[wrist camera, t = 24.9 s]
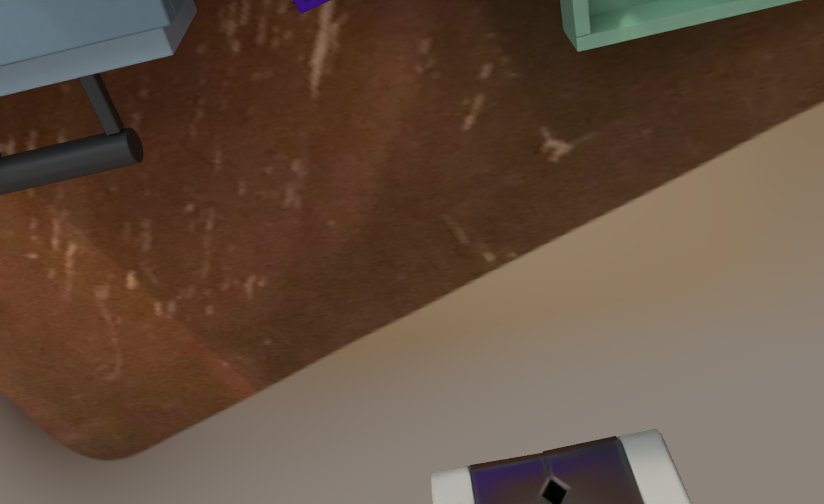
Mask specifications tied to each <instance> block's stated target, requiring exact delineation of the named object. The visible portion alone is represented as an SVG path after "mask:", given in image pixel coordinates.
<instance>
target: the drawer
mask: <svg viewBox="0 0 824 504" xmlns="http://www.w3.org/2000/svg"><path fill="white" fill-rule="evenodd" d="M196 13H197V9H196V6H195V4H194V1H193V0H186V1H185V3H184V4H183V6H182V8H181V9H180V11H179V13H178V14H177V16H176V17H175V19H174V21H173V22H172V24H171V25H170V26H167V27H163V28H159V29H154V30H150V31H146V32H142V33H138V34H134V35H130V36H125V37H121V38H117V39H113V40H109V41H105V42H101V43H97V44H92V45H88V46H84V47H80V48H76V49H72V50H68V51H64V52H59V53H55V54H51V55H47V56H43V57H39V58H35V59H31V60H26V61H22V62H18V63H14V64H10V65H6V66H2V67H0V96H4V95H8V94H13V93H17V92H21V91H25V90H29V89H33V88H38V87H42V86H46V85H50V84H54V83H59V82H63V81H67V80H71V79H75V78H79V80H80V82H81V84H82V86H83V89H84V91H85V93H86V95H87V97H88V99H89V101H90V103H91V105H92V107H93V109H94V111H95V113H96V115H97V117H98V119H99V121H100V124H101V126H102V128H103V130H104V132H105V133H102V134H98V135H94V136H89V137H85V138H81V139H77V140H72V141H68V142H64V143H59V144H55V145H51V146H47V147H42V148H38V149H34V150H30V151H25V152H21V153H17V154H12V155H8V156H4V157H0V195H3V194H7V193H12V192H16V191H20V190H25V189H29V188H33V187H38V186H42V185H46V184H51V183H55V182H59V181H64V180H68V179H72V178H77V177H81V176H86V175H90V174H94V173H99V172H103V171H107V170H112V169H116V168H120V167H125V166H129V165H133V164H138V163H140V162H142V160H143V147H142V143H141V140H140V138H139V136H138V134H137V132H136V131H135V130H134V129H133V128H131V127H128V128H124V129H123V127H124V125H123V123H122V121H121V119H120V116H119V114H118V112H117V110H116V108H115V106H114V104H113V102H112V99H111V97H110V95H109V93H108V91H107V89H106V87H105V84H104V82H103V80H102V78H101V76H100V74H99V73H100V72H104V71H109V70H113V69H117V68H121V67H125V66H130V65H134V64H138V63H142V62H146V61H150V60H155V59H159V58H163V57H167V56H171V55H173V54H174V53H175V51H176V49H177V47H178V45H179V44H180V42H181V40H182V38H183V36H184V34H185V33H186V31H187V29H188V27H189V25H190V23H191V22H192V20H193V18H194V16H195V14H196ZM0 156H1V153H0Z"/></svg>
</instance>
